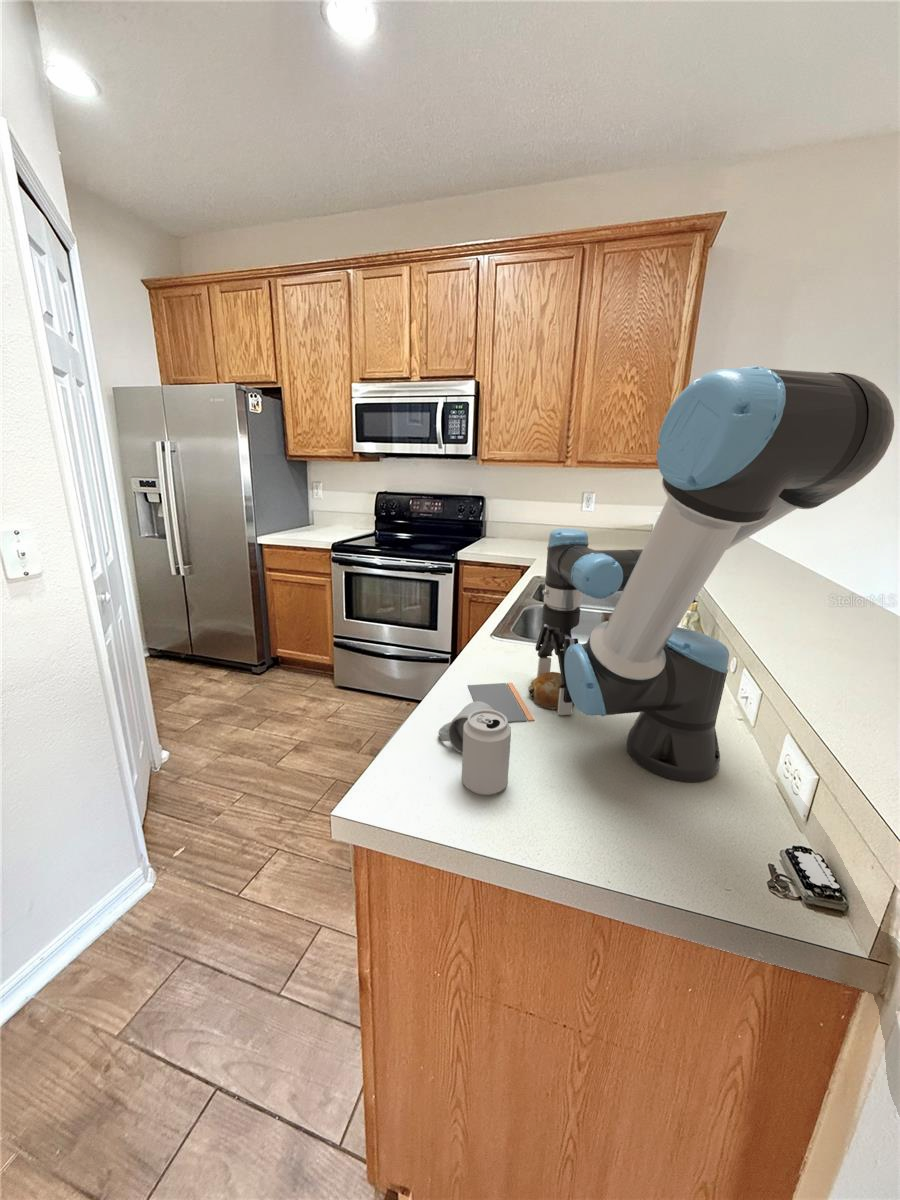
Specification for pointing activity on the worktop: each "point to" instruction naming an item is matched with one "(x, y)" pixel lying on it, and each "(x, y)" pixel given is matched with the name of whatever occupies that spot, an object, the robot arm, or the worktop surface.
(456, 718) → the ceramic mug
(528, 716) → the mat
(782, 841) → the worktop surface
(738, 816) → the worktop surface
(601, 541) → the worktop surface
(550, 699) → the bread roll
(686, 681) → the robot arm
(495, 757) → the can
